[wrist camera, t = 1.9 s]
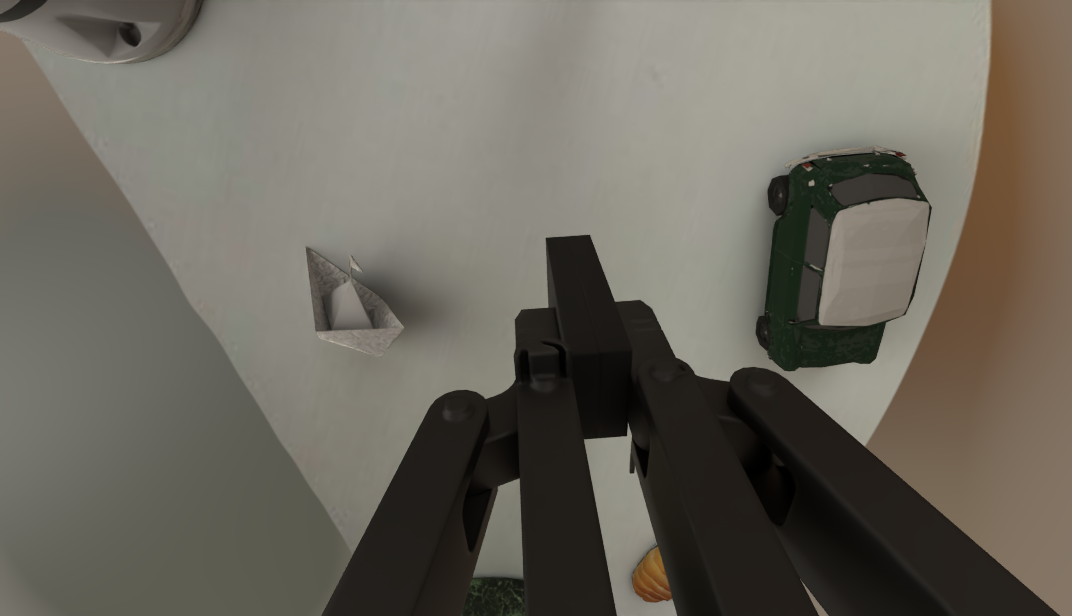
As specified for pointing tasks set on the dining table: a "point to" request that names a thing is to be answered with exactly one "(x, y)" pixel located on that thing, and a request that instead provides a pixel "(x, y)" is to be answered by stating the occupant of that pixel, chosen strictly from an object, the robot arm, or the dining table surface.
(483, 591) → the goblet
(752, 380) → the robot arm
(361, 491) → the dining table surface
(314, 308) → the paper boat
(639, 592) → the pastry
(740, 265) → the dining table surface
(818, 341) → the miniature car
